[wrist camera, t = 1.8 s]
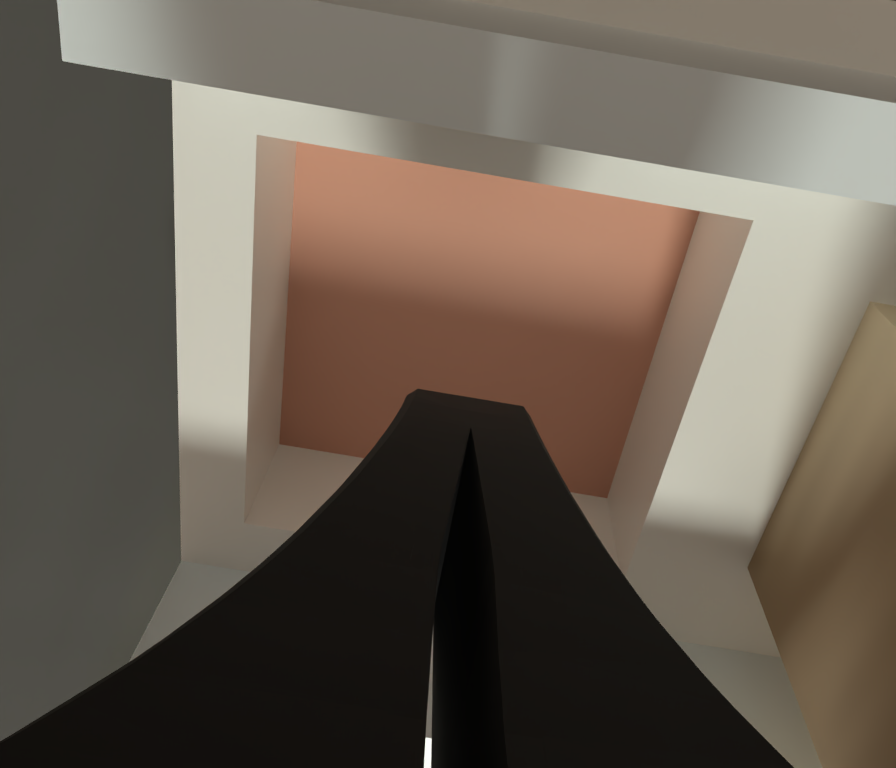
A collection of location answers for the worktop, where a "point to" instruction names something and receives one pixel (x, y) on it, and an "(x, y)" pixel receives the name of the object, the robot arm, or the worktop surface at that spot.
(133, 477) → the worktop surface
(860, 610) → the block
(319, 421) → the white tray
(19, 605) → the worktop surface
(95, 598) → the worktop surface
